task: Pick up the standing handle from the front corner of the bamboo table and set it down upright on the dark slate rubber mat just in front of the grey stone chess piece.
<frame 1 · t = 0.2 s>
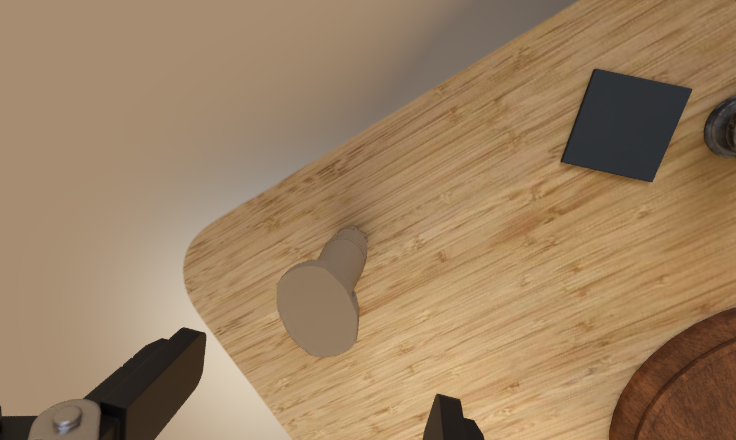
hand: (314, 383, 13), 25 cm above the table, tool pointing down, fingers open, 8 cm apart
place mat: (622, 127, 33), on the table
handle: (352, 239, 38), on the table
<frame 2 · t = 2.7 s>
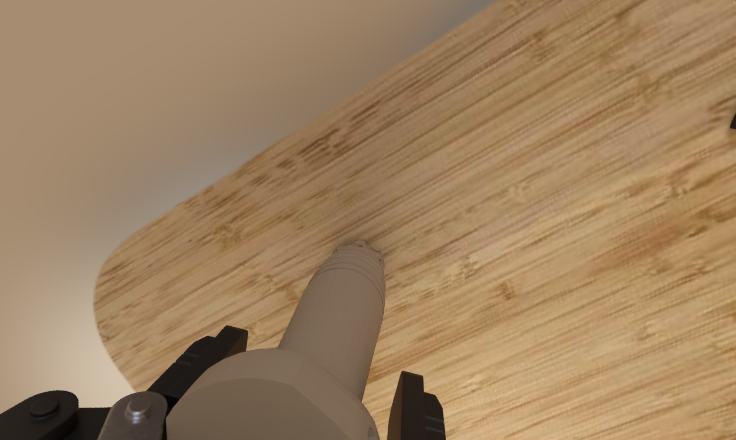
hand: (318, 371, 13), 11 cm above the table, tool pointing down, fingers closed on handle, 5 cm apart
handle: (359, 261, 23), on the table, touching gripper
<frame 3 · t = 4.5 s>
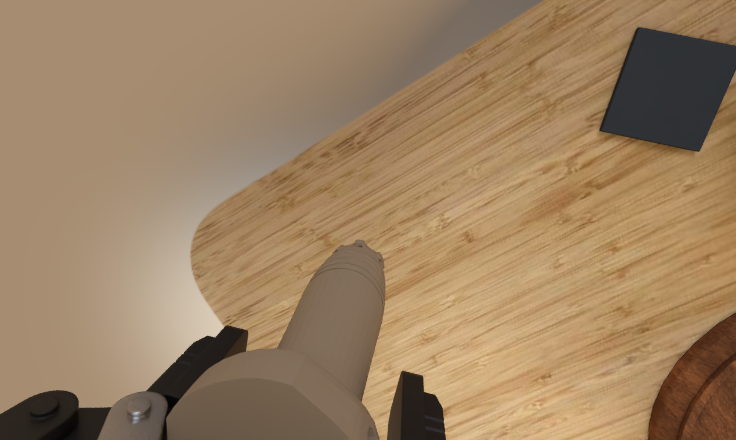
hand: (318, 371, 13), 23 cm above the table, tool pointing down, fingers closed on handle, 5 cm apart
place mat: (667, 91, 30), on the table
handle: (359, 261, 24), point 12 cm above the table, touching gripper
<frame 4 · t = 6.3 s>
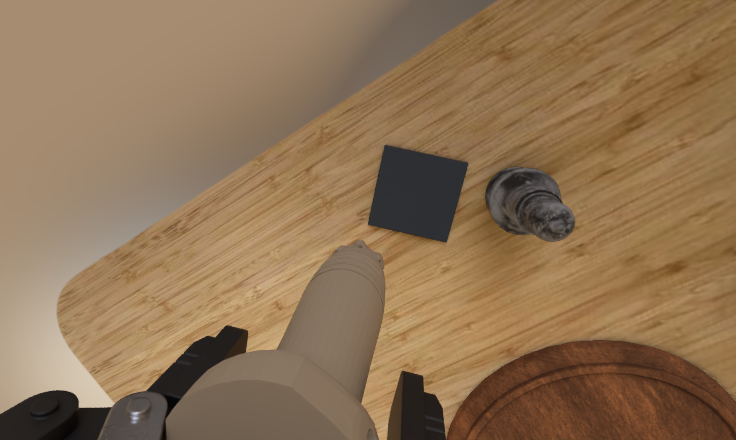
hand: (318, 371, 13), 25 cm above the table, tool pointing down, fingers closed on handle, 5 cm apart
place mat: (416, 194, 37), on the table
grey stone chess piece: (513, 194, 36), on the table
handle: (359, 262, 23), point 15 cm above the table, touching gripper
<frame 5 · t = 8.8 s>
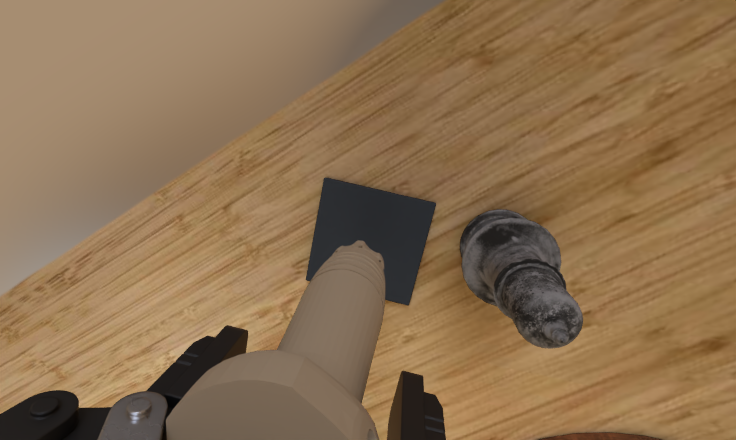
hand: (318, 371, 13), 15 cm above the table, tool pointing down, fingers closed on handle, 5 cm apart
place mat: (368, 242, 28), on the table
grey stone chess piece: (497, 244, 27), on the table
handle: (359, 262, 23), point 4 cm above the table, touching gripper
when the fingers open (11 cm above the table, at t = 10.3 s): handle stays where it is, resting on place mat.
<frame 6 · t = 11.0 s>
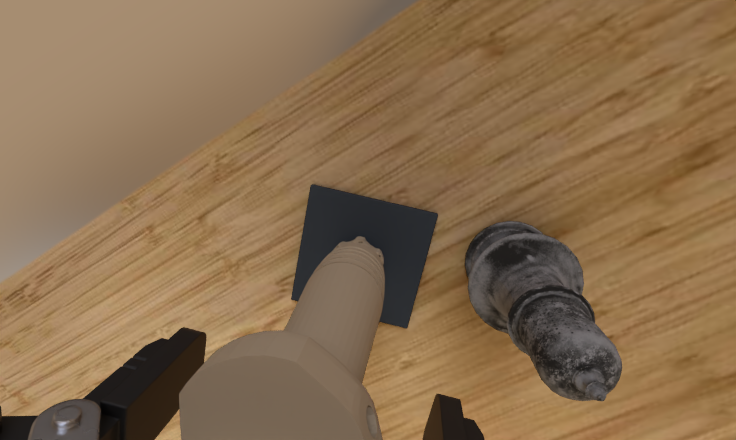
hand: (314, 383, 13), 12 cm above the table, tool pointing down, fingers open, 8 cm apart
place mat: (361, 257, 24), on the table
grey stone chess piece: (507, 260, 24), on the table
handle: (359, 257, 24), resting on place mat
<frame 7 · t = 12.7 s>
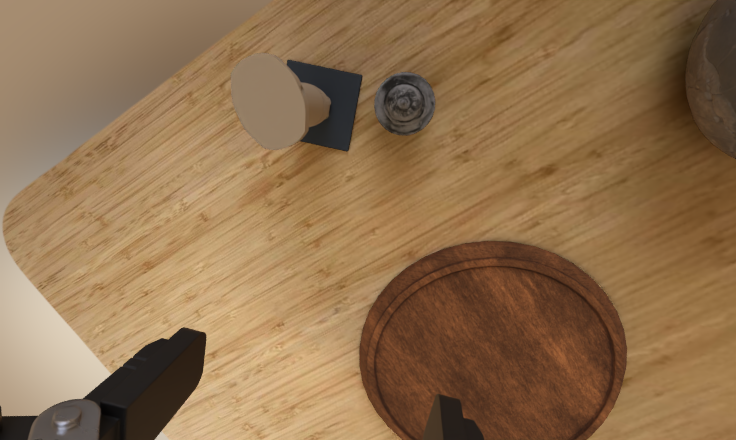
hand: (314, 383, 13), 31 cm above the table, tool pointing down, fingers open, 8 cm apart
cutting board: (485, 360, 47), on the table
place mat: (319, 106, 41), on the table
grey stone chess piece: (404, 105, 40), on the table
handle: (317, 106, 40), resting on place mat
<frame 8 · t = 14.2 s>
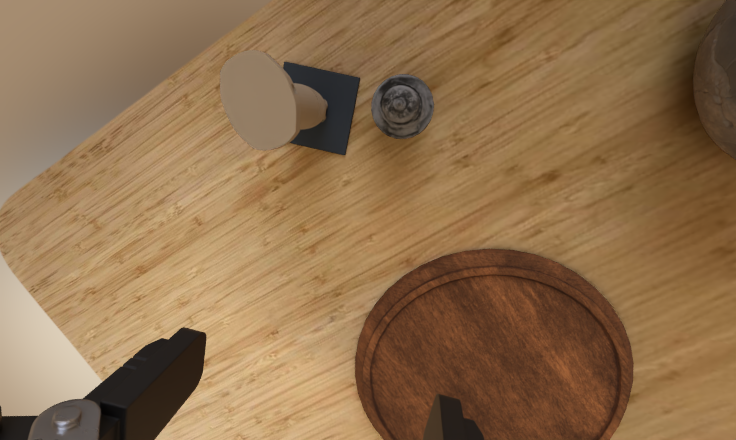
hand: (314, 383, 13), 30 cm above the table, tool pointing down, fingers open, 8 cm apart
cutting board: (486, 372, 46), on the table
place mat: (315, 109, 40), on the table
grey stone chess piece: (403, 108, 39), on the table
handle: (314, 109, 40), resting on place mat
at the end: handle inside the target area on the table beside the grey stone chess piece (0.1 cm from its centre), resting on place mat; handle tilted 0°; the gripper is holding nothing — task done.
